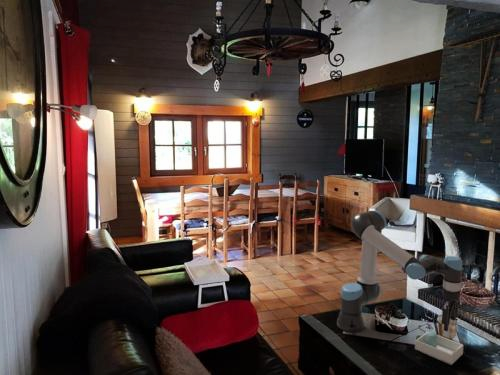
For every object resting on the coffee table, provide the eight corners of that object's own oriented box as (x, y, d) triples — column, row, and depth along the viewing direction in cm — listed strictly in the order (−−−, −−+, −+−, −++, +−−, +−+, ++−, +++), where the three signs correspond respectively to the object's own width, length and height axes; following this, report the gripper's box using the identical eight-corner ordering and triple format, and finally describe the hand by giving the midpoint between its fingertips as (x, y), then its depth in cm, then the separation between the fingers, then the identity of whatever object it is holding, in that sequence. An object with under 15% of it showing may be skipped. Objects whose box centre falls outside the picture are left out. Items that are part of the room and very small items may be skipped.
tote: (414, 349, 195) (415, 340, 194) (427, 340, 204) (427, 331, 203) (451, 365, 182) (452, 355, 181) (462, 354, 191) (463, 344, 190)
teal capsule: (424, 347, 196) (424, 334, 195) (428, 343, 199) (429, 331, 198) (434, 351, 192) (435, 338, 191) (438, 347, 195) (439, 334, 194)
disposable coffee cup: (458, 345, 199) (460, 323, 197) (438, 343, 201) (439, 321, 199) (452, 335, 208) (454, 314, 206) (433, 334, 210) (435, 313, 208)
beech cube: (441, 335, 188) (442, 325, 188) (445, 331, 192) (446, 322, 191) (452, 339, 185) (452, 329, 184) (456, 335, 188) (457, 325, 187)
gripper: (452, 296, 176) (448, 344, 180) (467, 286, 188) (464, 331, 191) (435, 291, 182) (432, 338, 185) (451, 282, 194) (448, 325, 197)
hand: (448, 334), depth 188 cm, fingers closed on beech cube, 5 cm apart
